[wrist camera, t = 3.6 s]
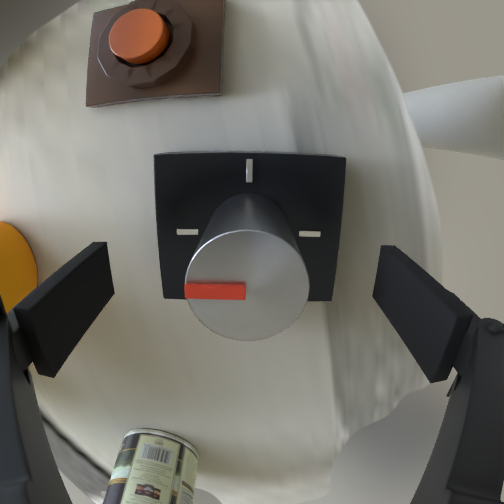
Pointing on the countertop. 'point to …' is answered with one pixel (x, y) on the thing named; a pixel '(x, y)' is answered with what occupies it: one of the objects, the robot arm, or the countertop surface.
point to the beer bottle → (15, 267)
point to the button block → (168, 62)
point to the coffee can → (153, 470)
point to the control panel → (255, 182)
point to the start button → (139, 36)
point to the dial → (247, 271)
